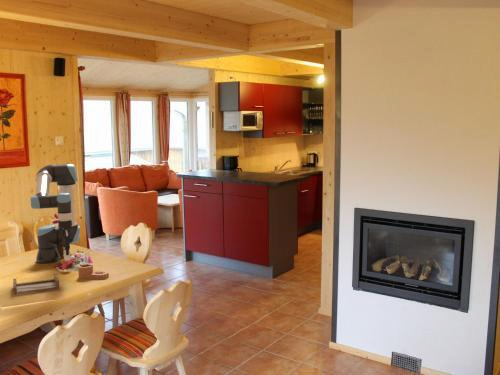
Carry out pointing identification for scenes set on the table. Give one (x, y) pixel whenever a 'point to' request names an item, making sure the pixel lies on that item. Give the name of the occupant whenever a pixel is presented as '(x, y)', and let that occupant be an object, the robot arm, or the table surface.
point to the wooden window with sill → (36, 286)
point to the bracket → (91, 272)
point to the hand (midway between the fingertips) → (67, 259)
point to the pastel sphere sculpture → (73, 262)
